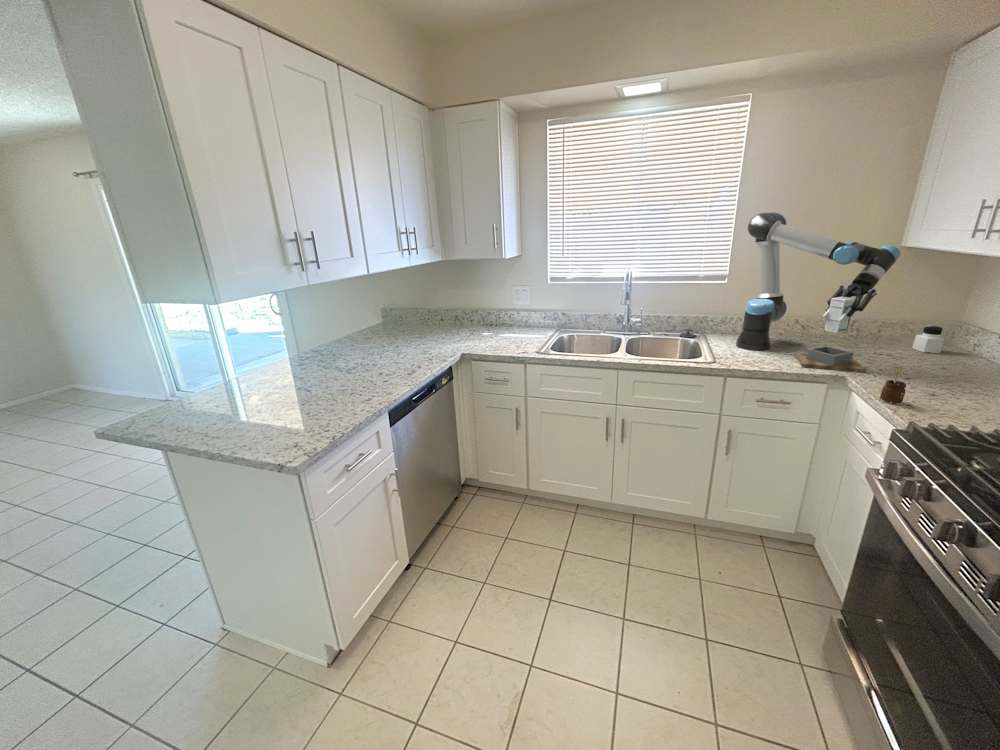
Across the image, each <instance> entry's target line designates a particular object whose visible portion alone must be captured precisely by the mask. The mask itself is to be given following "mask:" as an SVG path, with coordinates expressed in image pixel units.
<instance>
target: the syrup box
mask: <svg viewBox="0 0 1000 750" xmlns="http://www.w3.org/2000/svg"><path fill="white" fill-rule="evenodd" d="M854 302H855V297H850V298H849V297H837V298H832V299H831V304H830V308H829V312H828V317H827V320H825V326H824V331H825V332H829V333H833V334H839V333H846V332H848V329H849V325H850V321H851V317H852V316H851V317H848V318H847V319H846V321H845V322H844V323H843V324H841V323H840V320H839V319H840V318H841V317H842V315H843V314H844V313H845V312H846V311H847V309H848V308H852V306H853V303H854Z"/></svg>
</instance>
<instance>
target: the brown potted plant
mask: <svg viewBox="0 0 1000 750" xmlns="http://www.w3.org/2000/svg"><path fill="white" fill-rule="evenodd" d="M902 367H903V366H899V365H898V366H896V365H895V369H894V371H893V372H894V373H893V375H894V377H893V379H889V380H886V381H885V384H884V386H883V387H882V389H881V393H880V396H879V399H880V400H881V399H882V400H884V401H887V402H892V403H900V404H902V403H903V401H904V398H905V395H906V391H907V390H906V387H907V384H906V383H905V382H904V381H902V380H904V377H905V376H904V375H905V374H903V373H901V371H902V369H903V368H902ZM901 375H902V377H901ZM899 376H900V377H899ZM898 377H899V378H898ZM882 400H881V401H882ZM884 401H883V402H884ZM887 402H886V403H887ZM901 402H902V403H901Z"/></svg>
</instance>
